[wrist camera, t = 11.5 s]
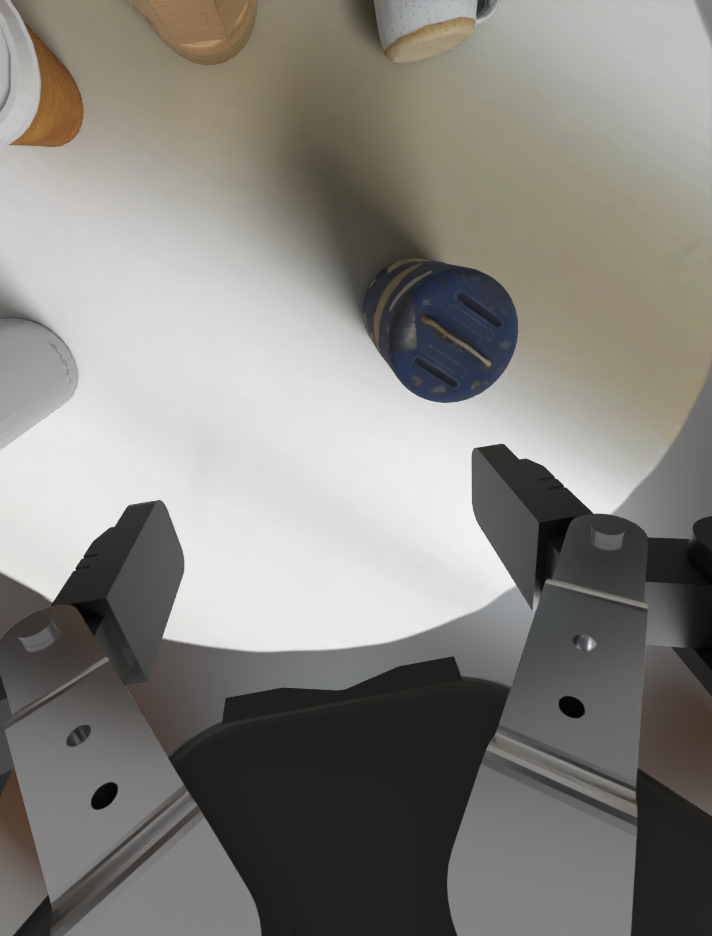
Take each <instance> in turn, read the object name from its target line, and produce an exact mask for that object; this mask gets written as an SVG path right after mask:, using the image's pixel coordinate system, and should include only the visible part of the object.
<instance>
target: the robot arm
mask: <svg viewBox="0 0 712 936" xmlns="http://www.w3.org/2000/svg"><path fill="white" fill-rule="evenodd" d="M77 380H78V376H77V367H76V364H75V361H74V358H73V356H72V355H71V353H70V351H69V349H68V348H67V347H66V345H65V344H64V343H63V342H62V340H60V339H59V338H58V337H57V336H56V335H55V334H54V333H53V332H51V331H50V330H48V329H46V328H45V327H43V326H41V325H39V324H37V323H34V322H32V321H28V320H24V319H20V318H5V319H0V450H1V449H3V448H4V447H5V446H7V445H8V444H10V443H11V442H12V441H14V440H15V439H16V438H18V437H19V436H21V435H22V434H23V433H25V432H26V431H27V430H29V429H30V428H32V427H33V426H34V425H36V424H37V423H38V422H40V421H41V420H42V419H44V418H45V417H47V416H48V415H50V414H51V413H52V412H54V411H55V410H56V409H58V408H59V407H60V406H62V405H63V404H64V403H66V402H67V401H68V400H69V399H70V398H71V396H72V395H73V393H74V391H75V389H76V386H77ZM472 505H473V511H474V515H475V518H476V520H477V522H478V524H479V526H480V527H481V529H482V530H483V532H484V534H485V535H486V537H487V539H488V540H489V542H490V543H491V545H492V547H493V548H494V550H495V551H496V553H497V555H498V556H499V558H500V559H501V561H502V563H503V564H504V566H505V567H506V569H507V571H508V572H509V574H510V575H511V577H512V579H513V580H514V582H515V583H516V585H517V587H518V588H519V590H520V591H521V593H522V595H523V596H524V598H525V599H526V601H527V603H528V604H529V606H530V607H531V609H532V610H533V611H534V610H536V612H535V615H534V619H533V621H532V624H531V627H530V631H529V634H528V637H527V640H526V643H525V646H524V649H523V652H522V655H521V658H520V661H519V664H518V668H517V670H516V673H515V677H514V680H513V683H512V686H508V685H506V684H503V683H501V682H498V681H495V680H491V679H487V678H484V677H478V676H472V675H461V674H460V672H459V669H458V666H457V664H456V661H455V658H454V657H448V658H443V659H437V660H432V661H426V662H421V663H415V664H410V665H404V666H399V667H396V668H394V669H392V670H389V671H387V672H385V673H383V674H380V675H378V676H376V677H373V678H371V679H369V680H367V681H364V682H362V683H359V684H357V685H355V686H352V687H350V688H348V689H345V690H337V691H335V690H316V689H298V688H296V689H295V688H278V689H273V690H267V691H263V692H257V693H251V694H246V695H240V696H235V697H230V698H226V700H225V706H224V713H223V719H221V720H219V721H217V722H215V723H213V724H211V725H209V726H208V727H206V728H204V729H202V730H201V731H199V732H198V733H196V734H195V735H193V736H192V737H190V738H189V739H187V740H186V741H185V742H184V743H183V744H181V745H180V746H179V747H178V748H176V749H175V750H174V751H173V752H172V753H171V754H170V755H169V756H168V757H167V755H166V754H165V752H164V750H163V749H162V747H161V745H160V744H159V742H158V740H157V739H156V737H155V736H154V734H153V732H152V731H151V729H150V727H149V726H148V724H147V722H146V721H145V719H144V717H143V715H142V714H141V712H140V711H139V709H138V707H137V705H136V704H135V702H134V700H133V699H132V697H131V696H130V694H129V692H128V690H127V689H126V687H125V685H129V684H135V683H141V682H146V681H148V679H149V675H150V673H151V669H152V667H153V664H154V660H155V658H156V655H157V652H158V649H159V645H160V642H161V639H162V636H163V633H164V630H165V627H166V624H167V621H168V618H169V615H170V612H171V609H172V606H173V603H174V600H175V597H176V594H177V591H178V588H179V585H180V582H181V579H182V576H183V573H184V556H183V551H182V548H181V545H180V543H179V540H178V537H177V534H176V532H175V529H174V526H173V524H172V521H171V518H170V516H169V513H168V510H167V508H166V506H165V504H164V503H163V502H162V501H161V500H157V501H151V502H145V503H139V504H133V505H129V506H128V507H127V508H126V510H125V511H124V513H123V514H122V516H121V518H120V519H119V521H118V523H117V524H116V526H115V527H111V528H109V529H108V530H107V531H105V532H104V533H103V534H102V535H100V536H99V537H98V538H97V539H96V540H94V541H93V543H92V544H91V546H90V547H89V549H88V550H87V552H86V553H85V555H84V559H81V561H80V562H79V564H78V565H77V567H76V571H73V573H72V574H71V576H70V577H69V579H68V580H67V582H66V583H65V585H64V586H63V588H62V590H61V591H60V593H59V594H58V596H57V597H56V599H55V600H54V602H53V603H52V605H51V606H50V607H47V608H44V609H42V610H39V611H37V612H34V613H32V614H30V615H29V616H27V617H25V618H23V619H22V620H20V621H19V622H18V623H16V624H15V625H13V626H12V627H11V628H10V629H9V630H8V631H7V632H6V633H5V634H4V635H3V636H2V637H1V639H0V795H1V793H2V791H3V789H4V787H5V785H6V783H7V781H8V779H9V777H10V774H11V772H12V770H13V769H14V768H15V770H16V774H17V778H18V782H19V785H20V789H21V793H22V797H23V800H24V804H25V808H26V811H27V815H28V819H29V823H30V827H31V830H32V834H33V838H34V841H35V845H36V849H37V853H38V856H39V860H40V864H41V868H42V872H43V875H44V879H45V883H46V887H47V890H48V896H47V897H46V898H45V899H44V900H43V901H42V903H41V904H40V905H39V906H38V907H37V908H36V910H35V911H34V912H33V913H32V914H31V915H30V917H29V918H28V919H27V920H26V921H25V923H24V924H23V925H22V926H21V927H20V928H19V929H18V930H17V932H16V933H15V934H14V935H13V936H712V816H710V815H709V814H708V813H706V812H705V811H703V810H701V809H700V808H698V807H697V806H695V805H694V804H692V803H691V802H689V801H688V800H686V799H684V798H683V797H682V796H680V795H679V794H677V793H676V792H674V791H673V790H671V789H670V788H668V787H667V786H665V785H664V784H662V783H661V782H659V781H657V780H656V779H654V778H653V777H651V776H650V775H648V774H647V773H645V772H644V771H642V770H641V769H639V768H638V767H637V765H638V749H639V734H640V719H641V703H642V689H643V674H644V659H645V644H648V645H658V646H670V647H672V648H673V650H674V651H675V652H676V653H677V655H678V656H679V657H680V658H681V660H682V661H683V662H684V663H685V664H686V666H687V667H688V668H689V669H690V671H691V672H692V673H693V674H694V675H695V677H696V678H697V679H698V680H699V682H700V683H701V684H702V685H703V686H704V688H705V689H706V690H707V691H708V692H709V694H710V695H711V696H712V516H710V517H705V518H702V519H700V520H698V521H696V522H695V524H694V526H693V528H692V532H691V535H690V539H673V538H672V539H671V538H649V537H648V536H647V534H646V533H645V531H644V530H643V529H642V528H641V527H639V526H638V525H637V524H635V523H633V522H631V521H629V520H627V519H624V518H621V517H618V516H614V515H608V514H593V513H592V512H591V511H590V510H589V509H588V508H587V507H586V506H585V505H584V504H583V503H582V502H581V501H580V500H579V499H578V498H577V497H575V496H574V495H573V494H572V493H571V492H570V491H569V490H568V489H567V488H564V485H563V484H562V483H561V482H560V481H559V480H558V479H555V477H554V476H553V475H552V474H551V473H550V472H549V471H548V470H547V469H546V468H545V467H544V466H542V465H540V464H537V463H535V462H533V461H531V460H528V459H520V460H519V459H518V458H517V457H516V456H515V455H514V454H513V453H512V452H511V451H510V450H509V449H508V448H507V447H506V446H505V445H504V444H498V445H491V446H485V447H479V448H474V449H473V452H472Z"/></svg>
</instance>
